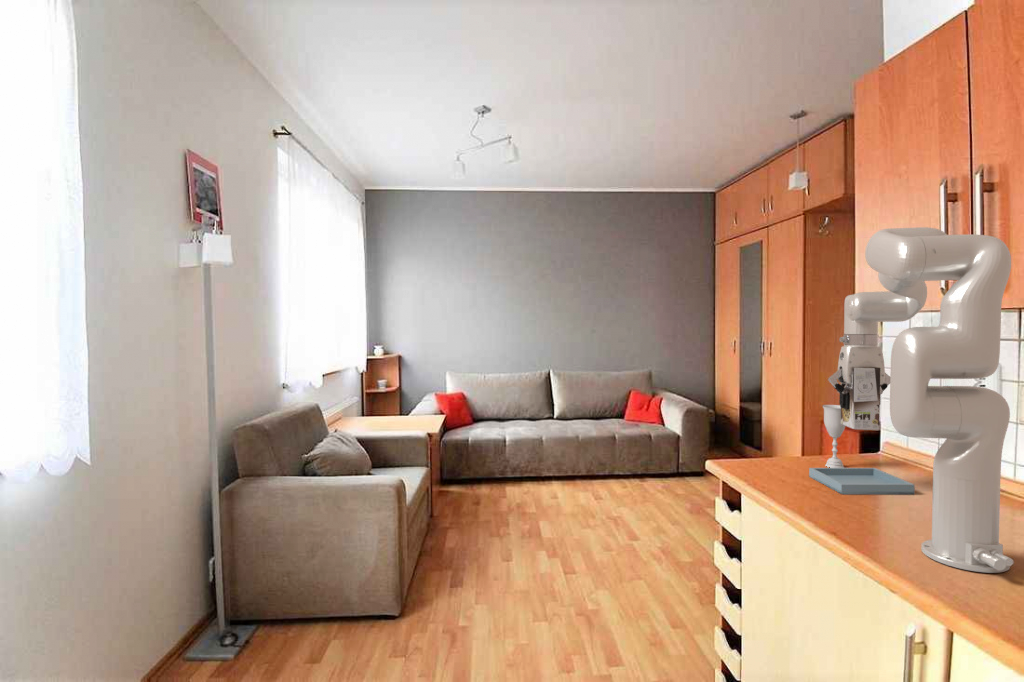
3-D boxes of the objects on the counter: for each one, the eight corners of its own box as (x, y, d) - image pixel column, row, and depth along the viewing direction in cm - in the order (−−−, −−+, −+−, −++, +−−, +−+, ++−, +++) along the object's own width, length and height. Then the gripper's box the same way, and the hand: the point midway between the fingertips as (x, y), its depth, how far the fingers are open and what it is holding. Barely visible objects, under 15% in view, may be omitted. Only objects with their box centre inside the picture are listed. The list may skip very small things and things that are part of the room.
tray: (914, 494, 140) (914, 484, 139) (841, 494, 140) (841, 484, 140) (874, 476, 156) (874, 467, 155) (809, 476, 156) (809, 467, 156)
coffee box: (880, 430, 142) (881, 367, 142) (852, 429, 143) (853, 367, 143) (865, 424, 151) (866, 364, 150) (839, 423, 152) (840, 364, 152)
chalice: (852, 470, 162) (853, 408, 162) (826, 469, 164) (827, 408, 163) (842, 463, 170) (842, 405, 169) (817, 462, 171) (818, 404, 170)
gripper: (834, 341, 143) (834, 411, 143) (903, 341, 142) (902, 410, 143) (819, 341, 150) (818, 406, 151) (884, 340, 150) (884, 406, 150)
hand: (859, 408), depth 147 cm, fingers closed on coffee box, 7 cm apart
